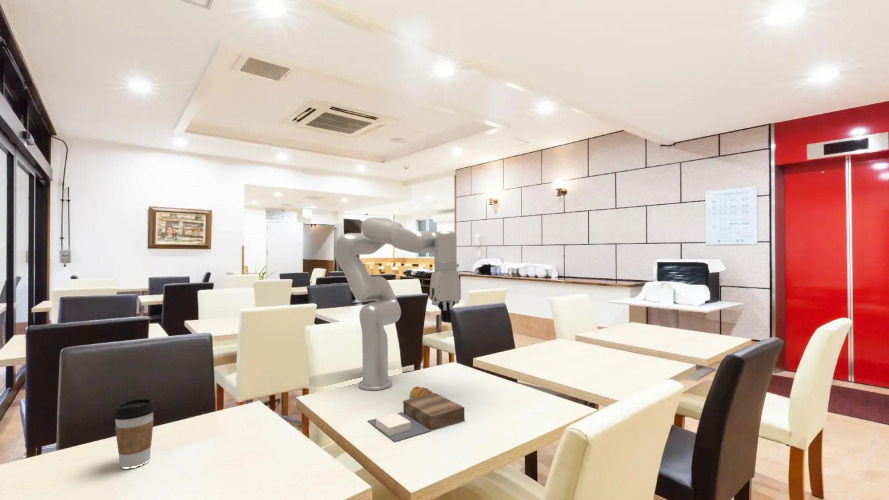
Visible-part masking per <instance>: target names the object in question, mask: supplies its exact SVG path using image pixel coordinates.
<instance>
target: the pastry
mask: <svg viewBox="0 0 889 500" xmlns="http://www.w3.org/2000/svg"><path fill="white" fill-rule="evenodd" d="M433 393H434V392H432V390H429V388H427V387H420V386H414V387H412V389H411V390H410V393H409V399H412V398H416V397H420V396H425V395H429V394H433Z"/></svg>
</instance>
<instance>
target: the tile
mask: <svg viewBox="0 0 889 500" xmlns="http://www.w3.org/2000/svg"><path fill="white" fill-rule="evenodd" d="M397 413H398V412H396V413H392V414H388V415H385V417H384V416H381V418H380V417H377V419H376V418H375V419H376V427H378V428H379V429H380V430H382V431H383V432H384V433H386V434H387V435H389V436H391V435H394V434H397V433H401V432H404V431H408V430H411V422H410V421H409V420H407V419H405V418H404V417H402V416H401V415H399V414H397Z"/></svg>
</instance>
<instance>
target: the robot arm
mask: <svg viewBox="0 0 889 500" xmlns="http://www.w3.org/2000/svg"><path fill="white" fill-rule="evenodd" d="M360 231H361V233H360V232H359V233H358V232H354V233H353V232H350V233H344V234H341V235H339V237H338V238H337V240H336V242H335V245H334V254H335V255H334V256H335V259H336V261H337V263H338V265H339V267H340V268H341V270H342V271H343V273H344V277H345V278H346V280H347V283H348V285H349V288H350V290H351V292H352V294H353V297H354V298H355V300H356V301H358V302H360V303H367V302H369V303H367V304H365V305H363V306H362V307H361V308H360V310H359V315H358V316H359V322H360V329H361V339H362V340H361V342H362V343H361V346H362V348H361V349H362V353H361V354H362V372H361V375H362V379H361V380H360V381H359V382H358V388H359V389H362V390H366V391H380V390H385V389H387V388H390V387H392V385H393V380H392V379H390V378H389V355H388V354H389V353H388V352H389V346H388V345H389V344H388V342H389V340H388V339H389V338H388V334H387V332H386V330H385V328H384V327H385V326H388V325H392V324H395V323H397V322H398V321H399V320H400V318H401V315H402V309H401V306H400V303H399V301H398V299H397V297H396V295H395V293H394V290H393V288H392V286H391V284H390V282H389V281H388V280H387V279H386V278H385V277H383V276H379V275H376V276H371V274H370V273H369V272H368V269H367V268H366V265H365V263H364V262H363V261H362V260H361V259H360V258H359V257H358V256H360V255H363V256H365V255H372V254H374V253H376V252H377V251H379V250H380V249H381V248H382V247H384V246H385V245H386V244H387V245H391V246H392V247H394V248H396V249H398V250H402V251H405V252H409V253H414V254H421V253H422V254H423V253H424V254H425V253H426V254H430V253H431V254H432V253H433V254H434V255H433V258H434V262H433V263H434V268H433V269H434V271H432V273H431V277H430V285H429V299H430V301H431V305H432V306H435V307H436V306H437V307H438V308H439V311H440V319H441V320H440V321H441V322H443V323H451V322H452V321H451V318H452V317H451V316H452V312H451V311H452V310H453V309H454V306H455V305H457V304H460V298H461V282H460V276H459V271H457V270H458V269H457V268H459V266H460V265H459V263H457V262H458V261H457V234H456V232H454V231H452V230H439V231H431V230H430V231H429V230H428V231H427V230H414V229H410V228H407V227H406V228H405V227H404V226H403V225H402V224H401V223H400V222H396V221H393V220H391V219H389V218H385V217H374V216H373V217H369V218H366V219H364V220H363V222H362V223H361V226H360ZM357 255H358V256H357Z"/></svg>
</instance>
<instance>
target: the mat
mask: <svg viewBox="0 0 889 500" xmlns="http://www.w3.org/2000/svg"><path fill="white" fill-rule="evenodd" d="M396 413H397V414H399V415H401V416H402V417H404V418H405V419H407V420H409V421H410V422H411V430H408V431H404V432H401V433H397V434H394V435H391V436H389V435H387V434H386V433H384V432H383V431H382V430H380V429H379V428H378V427H376V419H377V418H378V417H377V418H374V419H370V420H369V419H368V420H367V423H369V424H370V425H372V426H373V427H374V428H375V429H377V430H378V431H379V432H381V433H382V434H383V435H385V436H386V438H388V439H390V440H391V441H392V442H394V443H396V442H400V441H403V440H407V439H409V438H410V439H411V438H414V437H417V436H420V435H423V434H427V433H430V432H432V430H430V429H428V428H427V427H425V426H423V425H422V424H420V423H419V422H417V421H415V420H414V419H412V418H411V417H409V416H407V415H406V414H404V413H403V411H399V412H396ZM385 416H386V415H385ZM385 416H383V417H385ZM381 417H382V416H381ZM381 417H379V418H381Z"/></svg>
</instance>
